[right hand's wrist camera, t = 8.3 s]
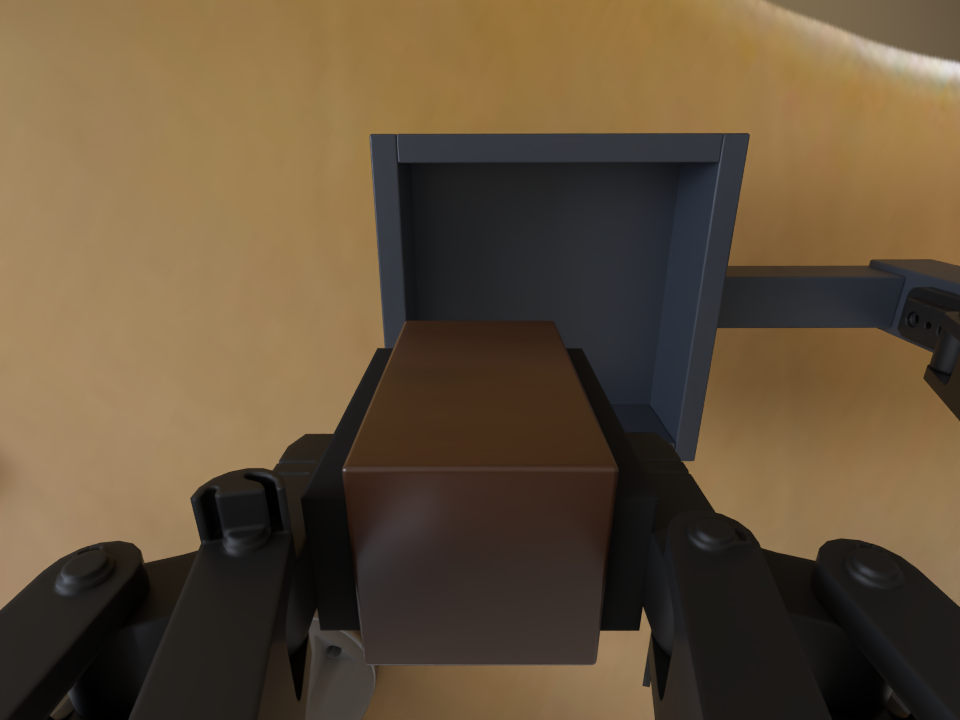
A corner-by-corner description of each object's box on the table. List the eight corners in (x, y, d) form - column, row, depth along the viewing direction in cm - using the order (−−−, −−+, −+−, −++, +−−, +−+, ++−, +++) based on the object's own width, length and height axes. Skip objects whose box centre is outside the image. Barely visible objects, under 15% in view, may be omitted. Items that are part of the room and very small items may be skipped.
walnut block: (547, 449, 15) (597, 667, 9) (411, 449, 15) (362, 667, 9) (555, 319, 14) (621, 468, 8) (404, 319, 14) (339, 468, 8)
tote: (970, 136, 24) (1217, 127, 16) (882, 415, 29) (1036, 515, 21) (389, 137, 24) (343, 129, 16) (405, 416, 29) (377, 516, 21)
